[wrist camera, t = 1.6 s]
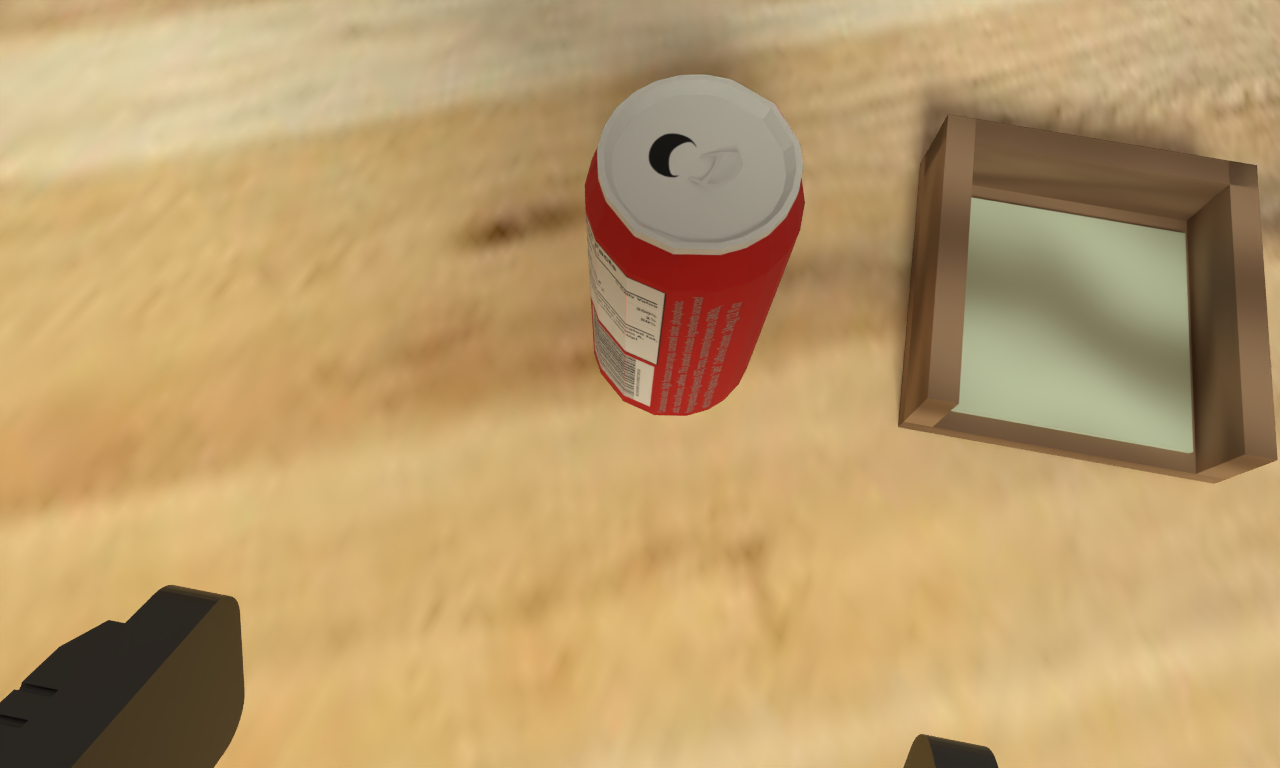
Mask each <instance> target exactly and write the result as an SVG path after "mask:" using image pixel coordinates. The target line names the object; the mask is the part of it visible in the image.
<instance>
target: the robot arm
mask: <svg viewBox="0 0 1280 768" xmlns="http://www.w3.org/2000/svg"><path fill="white" fill-rule="evenodd" d="M243 704H244V675H243V658H242V641H241V623H240V610H239V605H238V602H237V601H236V599H235V598H233V597H231V596H226V595H221V594H216V593H211V592H206V591H201V590H196V589H190V588H185V587H180V586H175V585H168V586H165V587H163V588H161V589H160V590H158V591H157V592H156V593H155V594H154V595H153V596H152V597H151V598H150V599H149V600H148V601H147V602H146V603H145V604H144V605H143V606H142V607H141V608H140V609H139V610H138V611H137V612H136V613H135V614H134V615H133V616H132V617H131V618H130V619H129V620H128V621H127V622H126V623H121V622H115V621H110V620H108V621H106V622H104V623H102V624H101V625H99V626H97V627H95V628H93V629H91V630H90V631H88V632H86V633H84V634H82V635H80V636H79V637H77V638H75V639H73V640H71V641H69V642H68V643H66V644H64V645H62V646H60V647H59V648H58V649H57V650H56V651H55V652H53V653H52V654H51V655H50V656H49V657H48V658H47V659H46V660H45V661H44V662H43V663H42V664H41V665H40V666H39V667H38V668H36V669H35V670H34V671H33V672H32V673H31V674H30V675H29V676H28V677H27V678H26V679H25V680H24V681H23V682H22V685H21V687H20V689H19V690H13V691H12V692H11V693H10V694H9V695H8V696H7V697H6V698H5V699H4V700H2V701H1V702H0V768H214V766H215V765H216V764H217V762H218V761H219V759H220V758H221V756H222V755H223V753H224V752H225V750H226V749H227V747H228V746H229V744H230V742H231V740H232V738H233V736H234V734H235V732H236V729H237V727H238V724H239V721H240V718H241V714H242V710H243ZM904 768H998V765H997V762H996V759H995V757H994V755H993V753H992V751H991V750H990V749H989V748H987V747H985V746H980V745H975V744H970V743H965V742H959V741H954V740H949V739H944V738H939V737H934V736H929V735H924V734H920V735H918V736H917V737H916V738H915V740H914V742H913V744H912V746H911V749H910V752H909V754H908V757H907V760H906V762H905V765H904Z"/></svg>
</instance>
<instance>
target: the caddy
mask: <svg viewBox="0 0 1280 768" xmlns="http://www.w3.org/2000/svg"><path fill="white" fill-rule="evenodd" d="M899 427H902V428H907V429H913V430H918V431H924V432H929V433H935V434H941V435H946V436H952V437H957V438H963V439H969V440H974V441H980V442H985V443H991V444H997V445H1002V446H1008V447H1013V448H1019V449H1025V450H1030V451H1036V452H1041V453H1047V454H1053V455H1058V456H1064V457H1069V458H1075V459H1080V460H1086V461H1092V462H1097V463H1103V464H1108V465H1114V466H1120V467H1125V468H1131V469H1136V470H1142V471H1148V472H1153V473H1159V474H1164V475H1170V476H1176V477H1181V478H1187V479H1192V480H1198V481H1204V482H1209V483H1217V482H1220V481H1223V480H1225V479H1228V478H1231V477H1234V476H1236V475H1239V474H1242V473H1244V472H1247V471H1250V470H1252V469H1255V468H1258V467H1260V466H1263V465H1266V464H1268V463H1271V462H1274V461H1276V460H1277V446H1276V432H1275V417H1274V403H1273V389H1272V375H1271V360H1270V346H1269V332H1268V318H1267V303H1266V289H1265V275H1264V261H1263V246H1262V232H1261V218H1260V204H1259V189H1258V175H1257V165H1252V164H1246V163H1240V162H1234V161H1227V160H1221V159H1215V158H1209V157H1203V156H1197V155H1191V154H1185V153H1179V152H1173V151H1167V150H1161V149H1155V148H1149V147H1143V146H1137V145H1131V144H1125V143H1118V142H1112V141H1106V140H1100V139H1094V138H1088V137H1082V136H1076V135H1070V134H1064V133H1058V132H1052V131H1046V130H1040V129H1034V128H1028V127H1022V126H1016V125H1009V124H1003V123H997V122H991V121H985V120H979V119H973V118H967V117H961V116H955V115H949V114H948V116H947V118H946V119H945V121H944V123H943V125H942V127H941V128H940V130H939V132H938V134H937V135H936V137H935V139H934V141H933V143H932V144H931V146H930V148H929V150H928V152H927V153H926V155H925V157H924V159H923V160H922V162H921V165H920V176H919V188H918V200H917V212H916V224H915V236H914V248H913V260H912V272H911V284H910V296H909V307H908V319H907V331H906V343H905V355H904V367H903V379H902V391H901V403H900V415H899Z"/></svg>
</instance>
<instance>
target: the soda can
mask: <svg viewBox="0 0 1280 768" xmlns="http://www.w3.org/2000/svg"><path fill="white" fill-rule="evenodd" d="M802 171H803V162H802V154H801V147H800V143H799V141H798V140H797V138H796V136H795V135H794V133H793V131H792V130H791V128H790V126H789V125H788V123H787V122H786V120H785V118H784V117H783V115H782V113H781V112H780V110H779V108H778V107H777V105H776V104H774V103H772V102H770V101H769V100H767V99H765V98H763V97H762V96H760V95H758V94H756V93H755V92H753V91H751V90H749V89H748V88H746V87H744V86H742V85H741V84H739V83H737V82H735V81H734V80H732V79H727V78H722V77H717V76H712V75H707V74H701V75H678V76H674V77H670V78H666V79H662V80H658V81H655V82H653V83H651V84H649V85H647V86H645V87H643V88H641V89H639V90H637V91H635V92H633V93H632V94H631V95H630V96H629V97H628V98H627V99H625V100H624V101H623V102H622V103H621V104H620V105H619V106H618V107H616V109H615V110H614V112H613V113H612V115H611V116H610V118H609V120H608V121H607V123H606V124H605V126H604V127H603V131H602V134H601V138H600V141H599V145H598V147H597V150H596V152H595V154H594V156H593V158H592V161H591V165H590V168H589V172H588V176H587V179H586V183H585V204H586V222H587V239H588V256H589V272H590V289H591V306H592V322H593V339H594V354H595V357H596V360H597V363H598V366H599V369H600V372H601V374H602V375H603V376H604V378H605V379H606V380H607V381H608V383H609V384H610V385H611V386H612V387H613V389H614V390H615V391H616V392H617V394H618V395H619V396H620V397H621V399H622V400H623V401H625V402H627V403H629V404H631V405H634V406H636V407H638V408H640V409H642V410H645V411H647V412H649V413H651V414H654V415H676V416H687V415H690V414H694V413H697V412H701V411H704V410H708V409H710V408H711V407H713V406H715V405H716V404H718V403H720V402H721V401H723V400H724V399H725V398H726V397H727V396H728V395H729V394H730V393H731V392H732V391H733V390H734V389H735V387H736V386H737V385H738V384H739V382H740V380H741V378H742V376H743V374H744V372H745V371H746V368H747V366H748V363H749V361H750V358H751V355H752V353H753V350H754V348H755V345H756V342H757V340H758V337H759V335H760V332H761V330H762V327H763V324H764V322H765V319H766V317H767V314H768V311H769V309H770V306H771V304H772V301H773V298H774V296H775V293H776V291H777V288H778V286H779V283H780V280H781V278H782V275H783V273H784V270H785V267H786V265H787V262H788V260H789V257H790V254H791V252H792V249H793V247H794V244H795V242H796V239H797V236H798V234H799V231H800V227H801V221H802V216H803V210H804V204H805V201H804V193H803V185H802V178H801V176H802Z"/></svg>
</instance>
